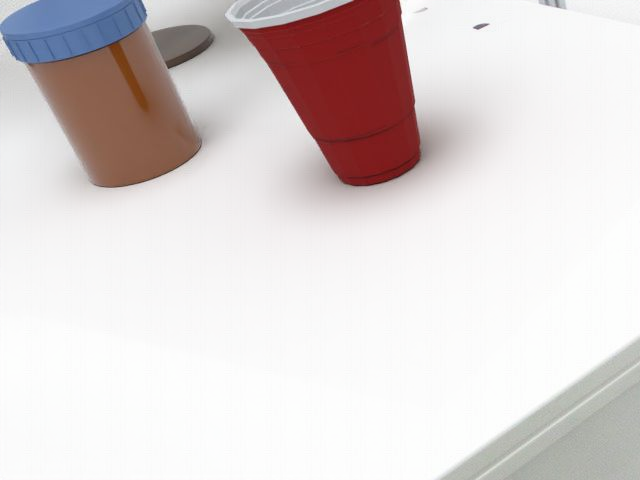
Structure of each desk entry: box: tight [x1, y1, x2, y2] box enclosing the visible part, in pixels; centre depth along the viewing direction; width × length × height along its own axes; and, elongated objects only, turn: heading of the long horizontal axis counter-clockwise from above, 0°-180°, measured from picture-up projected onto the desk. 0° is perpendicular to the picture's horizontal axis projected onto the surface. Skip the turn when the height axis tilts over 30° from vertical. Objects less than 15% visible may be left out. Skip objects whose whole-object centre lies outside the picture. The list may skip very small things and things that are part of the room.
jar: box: [22, 20, 202, 188], centre depth 76 cm, size 8×8×11 cm
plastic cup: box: [224, 0, 421, 186], centre depth 68 cm, size 11×11×12 cm
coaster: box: [150, 24, 214, 69], centre depth 97 cm, size 10×10×1 cm
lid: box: [0, 0, 148, 64], centre depth 73 cm, size 9×9×2 cm
